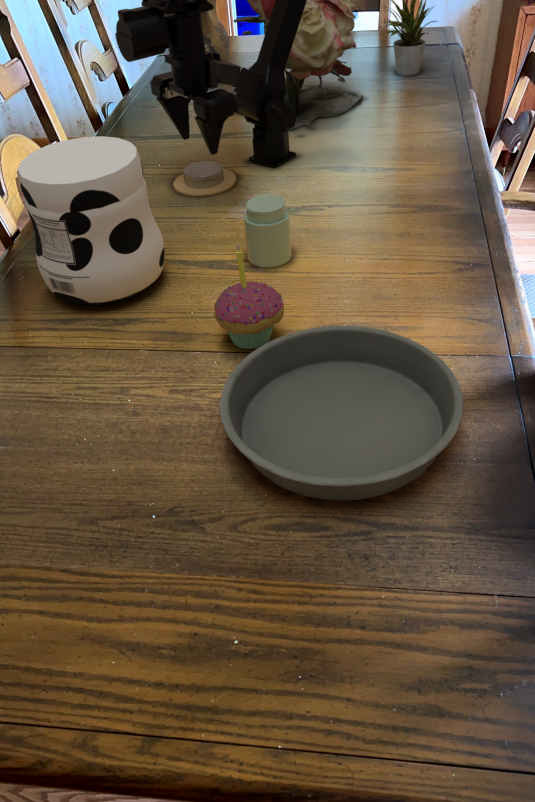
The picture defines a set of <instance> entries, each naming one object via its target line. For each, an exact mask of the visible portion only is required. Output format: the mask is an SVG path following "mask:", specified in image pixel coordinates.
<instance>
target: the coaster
mask: <svg viewBox="0 0 535 802" xmlns="http://www.w3.org/2000/svg"><path fill="white" fill-rule="evenodd" d="M223 174H224V179H223V181H222V182H221V183H220V184H218V185H216V186H214V187H210V188H203V189H197V188H191V187H189V186H187V185H186V183H185V181H184V172H183V173H181V174H179V175H178V176H177V177H176V178H174V180H173V182H172V183H173V184H172V185H173V189H174V190H175V191H176V192H177V193H179V194H181V195H184V196H187V197H188V196H190V197H207V196H214V195H218V194H220V193H223V192H227V190H229V189H231V188H232V187H234V186H235V184H236V183H237V176H236V174H235V173H234V172H233V171H231V170H229V169H226V168H223Z"/></svg>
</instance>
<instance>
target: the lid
mask: <svg viewBox="0 0 535 802" xmlns="http://www.w3.org/2000/svg"><path fill="white" fill-rule="evenodd" d="M223 169H224V168H223V165H222V164H221V163H219V162H217V161H212V160H202V161H197V162H193V163H190V164H188V165H186V166H185V167H184V169H183V173H184V181H185V183H186V185H187V186H189V187H191V188H197V189H203V188H210V187H214V186H216V185H218V184H220V183H221V182H222V181H223V179H224V174H223Z"/></svg>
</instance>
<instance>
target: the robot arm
mask: <svg viewBox="0 0 535 802" xmlns="http://www.w3.org/2000/svg"><path fill="white" fill-rule="evenodd" d="M306 2H307V0H275V4H274V7H273V10H272V14H271V17H270V20H269V23H268V27H267V28H266V30H265V33H264V37H263V41H262V43H261V46H260V50H259V53H258V56H257V59H256V61H255V62H254V63H253V64H252V65H253V66H252V65H251V66H252V67H251V66H250V67H251V68H250V69H249V68H247V67H242V66H240V65H237V64H235V63H232V62H230V61H229V62H226V61H223V60H222V61H221V57H220V54H219V53H216V52H212V51H205V42H204V34H203V25H202V17H201V13H202V12H206V11H210V10H213V8H214V6H213V5H212V4H211V3H209V2H208V1H207V0H141V6H138V7H134V8H123V9H118V10H117V17H118V20H117V22H116V25H115V33H114V35H115V36H114V37H115V41H116V44H117V47H118V50H119V53H120V54H121V56H122V57H123V59H124V60H125V61H126V62H128V63H132V62H136V61H140V60H143V59H148V58H152V57H155V56H160V55H162V54H164V55H163V57H164V62H165V63H167V64H169V65H170V70H171V71H167V72H163V73H160V74H159V73H158V74H155V75H153V77H152V78H151V81H150V82H149V84H150V89H151V95H153V96H155V97H156V101H157V102H159V104H160V106H161V107H162V109H163V110H164V112H165V114H167V116H168V117H169V119H170V121H171V122H172V124H173V125H174V126H175V129H176V130H177V132H178V133H179V135H180V137H181V138H182V139H183V141H184V140H185V141H186V140H189V139H190V131H191V130H190V109H189V106H190V103H191V101H193V102H192V106H193V111H194V113H195V115H196V116H194V120H195V123H196V124H197V127H198V130H200V131H199V132H200V134H201V136H202V138H203V141H204V143H205V145H206V148H207V150H208V152H209V154H210V155H213V156H214V155H217V154H218V151H219V146H220V141H221V137H222V132H223V128H224V125H225V122H226V121H227V120H228V119H229V118H231V117H233V116H235V115H234V114H235V113H238V111H240V113H239V114H241V113H242V115H243V118H244V119H245V121H246V123H249V124H252V125H253V127H252V129H251V130H252V152H253V155H251V156H249V157H248V161H249V162H251V163H254V164H255V163H256V164H258V165H259V164H260V165H263V166H267V167H271V168H277V167H279V166H282V165H283V164H284V163H287V162H288V161H290V160H292V159H293V158H295V157H296V156H297V152H295V151H291V150H290V135H289V133H290V132H289V130H292V129H291V128H293V129H295V128H294V126H295V122H296V118H297V115H296V114H295V113H294V112H293V111H292V110H291V109H289V108H288V107H287V106H286V105H285V104H284V101H285V95H286V83H285V77H286V73H285V67H286V64H287V61H288V58H289V55H290V52H291V49H292V45H293V42H294V39H295V36H296V33H297V30H298V27H299V24H300V21H301V18H302V15H303V11H304V8H305V5H306ZM166 50H168V53H166ZM165 53H166V54H165ZM219 84H220V85H221V84H222V85H227V86H231V87H233V89H234V92H236V96H235V95H234V94H233V93H231V91H228V90H226V89H223V88H219ZM216 88H218V89H216ZM209 89H211V90H210V91H209ZM212 89H213V90H212ZM214 89H215V90H214Z"/></svg>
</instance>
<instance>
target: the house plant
mask: <svg viewBox="0 0 535 802" xmlns="http://www.w3.org/2000/svg"><path fill="white" fill-rule="evenodd" d="M390 1H391V3H392V4H394V6H395V9H396V11H397V12H398V13H397V12H396V11H395V10H394V9H393V8H390V9H389V7H388V6H386V11H387V12H389V13H391V14H392V15H393V16H394V18H395V19H396V20H391V19H389V18H386V21H383V23H384V24H386V25H385V26H383V28H390V29H391V30H388V31H387V32H386V34H385V36H387V35H389V34H390V37H389V39H391V38H392V37H393V36H395V35H397V36H398V37H399V38H400V39H396V40H395V41H393V43H392V44H393V53H394V64H395V70H396V74H397V75H400V76H415V75H417V74H419V73H420V72H421V71H420V70H421V66H422V61H423V56H424V52H425V48H426V44H427V43H426V40H425V39H422V36H424V35H429V32H422V31H423V29H424V28H425V27H426V26H428V25H430V24H431V23H435V22H436V23H439V21H438V20H431V21H429V22H428V23H425V24H424V25H423V26H422V24H423V22H424V20H425V19H426V17H427V16H428V15H429V14H430V12H431V11H432V10H433V9H434V6H432V7H428V8H427V9H425V8H426V4H427V0H420V1H419V3H418V4H419V5H418V9H417V11H416V13H415V7H416V3H417V0H410V5H409V6H408V5H407V2H406V0H401V1H402V8H401V7H400V5H398V4H397V3H396V1H395V0H390ZM377 7H380V8H385V6H384V5H378V6H377ZM415 14H416V15H415ZM399 19H400V20H399ZM389 26H390V27H389ZM391 26H392V27H393V28H392V27H391ZM404 30H405V31H404Z"/></svg>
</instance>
